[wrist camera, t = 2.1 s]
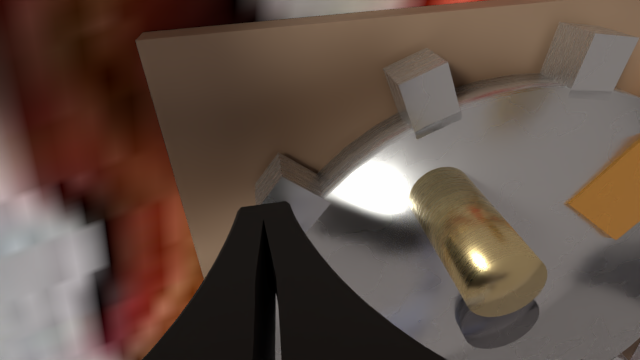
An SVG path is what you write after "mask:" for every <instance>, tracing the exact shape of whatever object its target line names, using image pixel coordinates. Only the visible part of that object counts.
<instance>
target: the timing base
mask: <svg viewBox="0 0 640 360" xmlns="http://www.w3.org/2000/svg"><path fill="white" fill-rule="evenodd" d="M559 22H565V23H574V24H584V25H593V26H601V27H604V28H608V29H611V30H615V31H618V32H622V33H625V34H628V35H632V36H635V37H639V40H638V42H637V44H636V46H635V48H634V50H633V52H632V54H631V56H630V58H629V60H628V62H627V64H626V66H625V68H624V70H623V72H622V74H621V76H620V78H619V80H618V82H617V84H616V86H615V87H617V88H619V89H622V90H624V91H626V92H628V93H631V94H633V95H635V96H637V97H640V0H488V1H477V2H466V3H455V4H444V5H433V6H422V7H412V8H401V9H390V10H379V11H368V12H357V13H347V14H336V15H325V16H314V17H303V18H292V19H281V20H271V21H260V22H249V23H238V24H227V25H216V26H205V27H195V28H184V29H173V30H162V31H151V32H143V33H142V34H141V35H140V36H139V37H138V38H137V39H136V40H135V42H136V45H137V49H138V52H139V56H140V59H141V62H142V66H143V69H144V73H145V76H146V80H147V83H148V87H149V90H150V94H151V97H152V101H153V104H154V107H155V111H156V114H157V118H158V121H159V125H160V128H161V132H162V135H163V139H164V142H165V146H166V149H167V152H168V156H169V159H170V163H171V166H172V170H173V173H174V177H175V180H176V184H177V187H178V191H179V194H180V197H181V201H182V204H183V208H184V211H185V215H186V218H187V222H188V225H189V229H190V232H191V236H192V239H193V242H194V246H195V249H196V253H197V256H198V260H199V263H200V267H201V270H202V274H203V277H204V279H205V277H206V276H207V274H208V272H209V270H210V269H211V267H212V265H213V264H214V262H215V260H216V258H217V256H218V254H219V252H220V250H221V249H222V247H223V245H224V243H225V241H226V239H227V236H228V234H229V232H230V230H231V227H232V225H233V222H234V220H235V217H236V214H237V211H238V210H239V209H240V208H241V207H246V206H253V205H256V202H255V183H256V182H257V181H258V179H259V178H260V177H261V175H262V174H263V173H264V171H265V170H266V169H267V167H268V166H269V164H270V163H271V162H272V160H273V159H274V158H275V156H276V155H277V154H278V152H279V153H281V154H282V155H284V156H286V157H288V158H289V159H291V160H293V161H295V162H297V163H298V164H300V165H302V166H304V167H305V168H307V169H309V170H311V171H312V172H314V173H316V174H317V173H318V172H319V171H320V170H321V169H322V168H323V167H325V166H326V165H327V164H328V163H329V162H330V161H331V160H332V159H333V158H334V157H335V156H336V155H337V154H338V153H339V152H341V151H342V150H343V149H344V148H345V147H346V146H348V145H349V144H350V143H352V142H353V141H354V140H356V139H357V138H359V137H360V136H361V135H363V134H364V133H365V132H367V131H368V130H369V129H371V128H372V127H373V126H375V125H377V124H378V123H380V122H382V121H384V120H385V119H387V118H389V117H391V116H392V115H394V114H396V113H397V112H398V111H397V108H396V105H395V102H394V99H393V97H392V94H391V91H390V88H389V85H388V82H387V79H386V76H385V74H384V71H383V68H385V67H387V66H389V65H391V64H393V63H395V62H398V61H400V60H402V59H404V58H406V57H408V56H410V55H412V54H414V53H417V52H419V51H421V50H423V49H425V48H428V49H430V50H431V51H433V52H434V53H435V54H437V55H438V56H440V57H441V58H443V59H444V60H446V61H447V62H448V64H449V68H450V72H451V76H452V80H453V84H454V88H456V87H459V86H462V85H466V84H469V83H472V82H475V81H479V80H485V79H490V78H496V77H501V76H507V75H513V74H531V73H540V71H541V68H542V66H543V63H544V61H545V58H546V56H547V53H548V50H549V48H550V45H551V43H552V40H553V38H554V35H555V32H556V30H557V27H558V25H559ZM639 343H640V338H639V339H638V340H636V341H635V342H634V343H633V344H632V345H631V346H630V347H628V348H627V349H626V350H625V351H623V352H622V354H623V355H624V356H625V357H626V358H627V359H628V360H630V359H631V357H632V355H633V353H634V352H635V350H636V348H637V346H638V345H639Z"/></svg>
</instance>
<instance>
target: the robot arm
mask: <svg viewBox="0 0 640 360" xmlns="http://www.w3.org/2000/svg"><path fill="white" fill-rule="evenodd" d="M276 296H277V301H278V309H279V325H280V343H281V360H447V359H445V358H444V357H442V356H440V355H439V354H437V353H435V352H434V351H432V350H430V349H429V348H427V347H425V346H424V345H422V344H421V343H419V342H418V341H416V340H415V339H413V338H412V337H411V336H409V335H408V334H406V333H405V332H403V331H402V330H401V329H399V328H398V327H396V326H395V325H394V324H392V323H391V322H390V321H389V320H387V319H386V318H385V317H384V316H382V315H381V314H380V313H379V312H377V311H376V310H375V309H374V308H372V307H371V306H370V305H369V304H368V303H366V302H365V301H364V300H363V299H362V298H361V297H360V296H359V295H358V294H357V293H355V292H354V291H353V290H352V289H351V288H350V287H349V286H348V285H347V284H346V283H345V282H344V281H343V280H342V279H341V278H340V277H339V276H338V274H337V273H336V272H335V271H334V270H333V269H332V268H331V267H330V265H329V264H328V263H327V262H326V261H325V259H324V258H323V257H322V256H321V255H320V253H319V252H318V251H317V249H316V248H315V247H314V245H313V244H312V242H311V241H310V240H309V238H308V237H307V235H306V234H305V232H304V231H303V229H302V228H301V226H300V224H299V223H298V221H297V219H296V217H295V215H294V213H293V211H292V208H291V205H290V204H289V203H288V202H286V201H283V202H275V203H268V204H261V205H253V206H246V207H241V208H240V209H239V210H238V211H237V214H236V217H235V220H234V222H233V225H232V227H231V230H230V232H229V234H228V236H227V239H226V241H225V243H224V245H223V247H222V249H221V250H220V252H219V254H218V256H217V258H216V260H215V262H214V264H213V265H212V267H211V269H210V270H209V272H208V274H207V276H206V277H205V279H204V281H203V282H202V284H201V285H200V287H199V289H198V290H197V292H196V293H195V295H194V296H193V298H192V299H191V300H190V302H189V303H188V305H187V306H186V307H185V309H184V310H183V311H182V313H181V314H180V316H179V317H178V318H177V319H176V321H175V322H174V323H173V324H172V326H171V327H170V328H169V329H168V330H167V332H166V333H165V334H164V335H163V337H162V338H161V339H160V340H159V341H158V343H157V344H156V345H155V346H154V347H153V348H152V349H151V351H150V352H149V353H148V354H147V355H146V356H145V357H144V358H143V359H142V360H275V333H276Z"/></svg>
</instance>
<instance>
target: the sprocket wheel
mask: <svg viewBox="0 0 640 360" xmlns="http://www.w3.org/2000/svg"><path fill="white" fill-rule="evenodd" d="M638 40H639V37H635V36H632V35H628V34H625V33H622V32H618V31H615V30H611V29H608V28H604V27H601V26H593V25H584V24H574V23H565V22H559V25H558V27H557V30H556V32H555V35H554V38H553V40H552V43H551V45H550V48H549V50H548V53H547V56H546V58H545V61H544V63H543V66H542V68H541V71H540V73H531V74H513V75H507V76H501V77H496V78H490V79H485V80H479V81H475V82H472V83H469V84H466V85H462V86H459V87H456V88H454V84H453V80H452V76H451V72H450V68H449V64H448V62H447V61H446V60H444V59H443V58H441V57H440V56H438V55H437V54H435V53H434V52H433V51H431V50H430V49H428V48H425V49H423V50H421V51H419V52H417V53H414V54H412V55H410V56H408V57H406V58H404V59H402V60H400V61H398V62H395V63H393V64H391V65H389V66H387V67H385V68H383V71H384V74H385V76H386V79H387V82H388V85H389V88H390V91H391V94H392V97H393V99H394V102H395V105H396V108H397V111H398V112H397V113H396V114H394V115H392V116H391V117H389V118H387V119H385V120H384V121H382V122H380V123H378V124H377V125H375V126H373V127H372V128H371V129H369V130H368V131H367V132H365V133H364V134H363V135H361V136H360V137H359V138H357V139H356V140H354V141H353V142H352V143H350V144H349V145H348V146H346V147H345V148H344V149H343V150H342V151H341V152H339V153H338V154H337V155H336V156H335V157H334V158H333V159H332V160H331V161H330V162H329V163H328V164H327V165H326V166H325V167H323V168H322V169H321V170H320V171H319V172H318V173H317V174H316V173H314V172H312V171H311V170H309V169H307V168H305V167H304V166H302V165H300V164H298V163H297V162H295V161H293V160H291V159H289V158H288V157H286V156H284V155H282V154H281V153H279V152H278V154H277V155H276V156H275V158H274V159H273V160H272V162H271V163H270V164H269V166H268V167H267V169H266V170H265V171H264V173H263V174H262V175H261V177H260V178H259V179H258V181H257V182H256V183H255V202H256V205H261V204H268V203H275V202H283V201H286V202H288V203H289V204H290V205H291V208H292V211H293V213H294V215H295V217H296V219H297V221H298V223H299V224H300V226H301V228H302V229H303V231H304V232H305V234H306V235H307V237H308V238H309V240H310V241H311V242H312V244H313V245H314V247H315V248H316V249H317V251H318V252H319V253H320V255H321V256H322V257H323V258H324V259H325V261H326V262H327V263H328V264H329V265H330V267H331V268H332V269H333V270H334V271H335V272H336V273H337V274H338V276H339V277H340V278H341V279H342V280H343V281H344V282H345V283H346V284H347V285H348V286H349V287H350V288H351V289H352V290H353V291H354V292H355V293H357V294H358V295H359V296H360V297H361V298H362V299H363V300H364V301H365V302H366V303H368V304H369V305H370V306H371V307H372V308H374V309H375V310H376V311H377V312H379V313H380V314H381V315H382V316H384V317H385V318H386V319H387V320H389V321H390V322H391V323H392V324H394V325H395V326H396V327H398V328H399V329H401V330H402V331H403V332H405V333H406V334H408V335H409V336H411V337H412V338H413V339H415V340H416V341H418V342H419V343H421V344H422V345H424V346H425V347H427V348H429V349H430V350H432V351H434V352H435V353H437V354H439V355H440V356H442V357H444V358H445V359H447V360H628V359H627V358H626V357H625V356H624V355H623V354H622V352H623V351H625V350H626V349H627V348H628V347H630V346H631V345H632V344H633V343H634V342H635V341H636V340H638V339H639V338H640V97H637V96H635V95H633V94H631V93H628V92H626V91H624V90H622V89H619V88H617V87H615V86H616V84H617V82H618V80H619V78H620V76H621V74H622V72H623V70H624V68H625V66H626V64H627V62H628V60H629V58H630V56H631V54H632V52H633V50H634V48H635V46H636V44H637V42H638ZM275 360H281V343H280V325H279V309H278V301H277V296H276V333H275Z"/></svg>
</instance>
